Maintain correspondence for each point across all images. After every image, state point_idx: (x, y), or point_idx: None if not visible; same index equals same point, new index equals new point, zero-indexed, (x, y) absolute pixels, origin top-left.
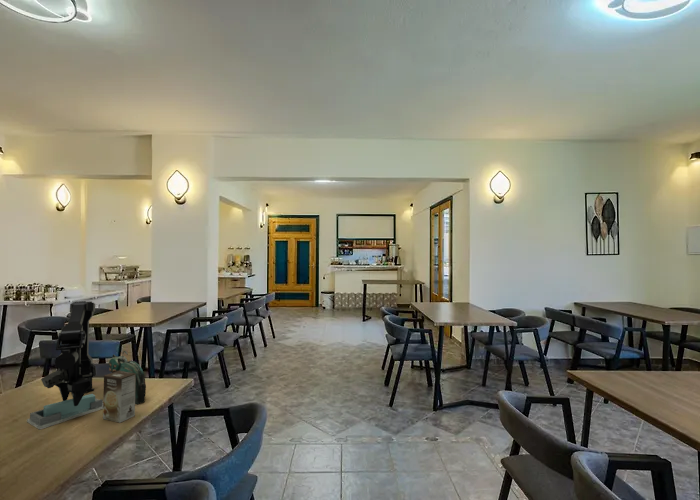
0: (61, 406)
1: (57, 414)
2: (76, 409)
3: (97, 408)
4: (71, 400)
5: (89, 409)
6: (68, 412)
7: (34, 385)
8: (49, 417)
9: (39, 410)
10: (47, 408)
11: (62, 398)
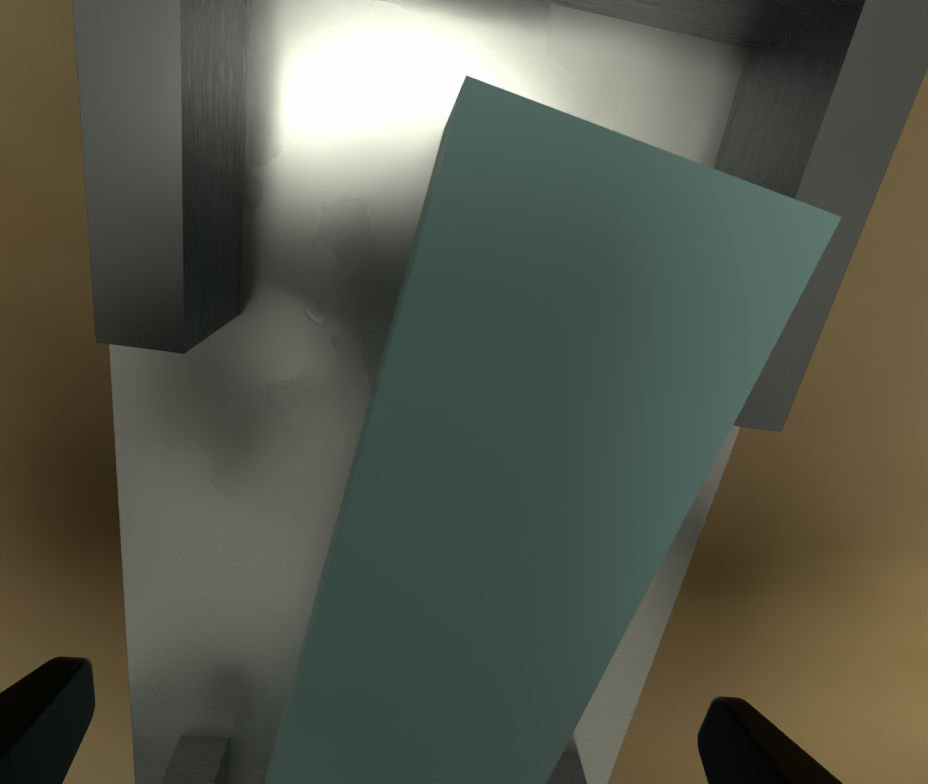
0: (344, 504)
1: (96, 242)
2: (306, 630)
3: (143, 779)
4: (407, 782)
5: (181, 718)
6: (338, 514)
7: None
8: (106, 23)
9: (876, 179)
10: (451, 140)
11: (790, 750)
